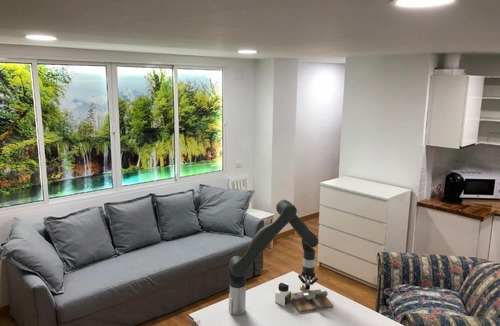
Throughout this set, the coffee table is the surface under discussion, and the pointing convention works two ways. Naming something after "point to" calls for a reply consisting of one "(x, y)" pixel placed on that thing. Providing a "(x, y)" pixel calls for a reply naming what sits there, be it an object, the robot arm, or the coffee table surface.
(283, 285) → the medicine bottle
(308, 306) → the stand board
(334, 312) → the coffee table surface
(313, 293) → the spoked handwheel
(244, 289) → the robot arm
